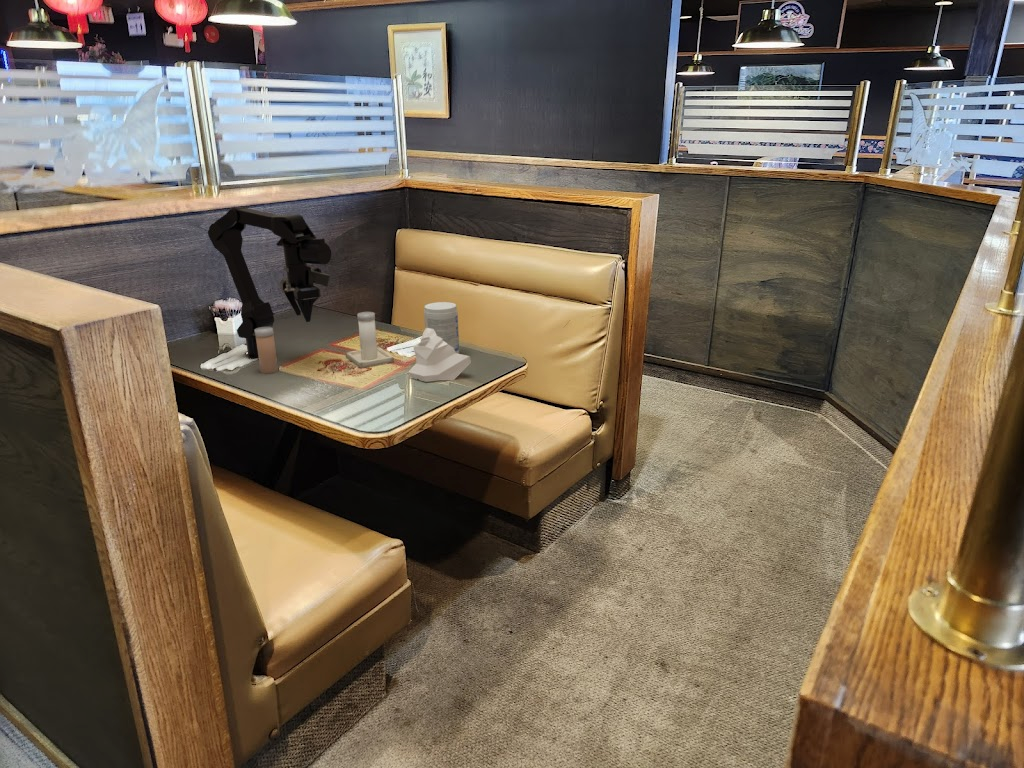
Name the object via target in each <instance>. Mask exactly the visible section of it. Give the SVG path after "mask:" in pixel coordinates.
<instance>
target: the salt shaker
mask: <svg viewBox="0 0 1024 768" xmlns="http://www.w3.org/2000/svg"><path fill="white" fill-rule="evenodd" d="M356 315H357V320H358V321H357V322H358V333H359V335H358V336H359V346H360V350H361V359H363V360H374V359H377V358H378V355H377V347H378V344H377V334H376V333H377V332H376V320H375V319H376V316H375V315H376V313H375V312H373V311H362V312H358V313H357V314H356Z"/></svg>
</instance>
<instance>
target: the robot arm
mask: <svg viewBox="0 0 1024 768" xmlns="http://www.w3.org/2000/svg"><path fill="white" fill-rule="evenodd" d="M305 220H306V219H304V216H302V215H300V214H297V213H296V214H274V213H269V212H266V211H260V210H256V209H252V208H248V207H245V206H237V207H232V208H230V209H229V210H227V212H226V214H224V215H222V216H221V217H219V218H218V219H217V220H215V222H213V223H212V224H210V225H209V226H208V227H209V228H208V230H207V235H208V237H209V239H210V242H211V244H212V246H213V247H214V248H215V250H217V251H218V252H219V253H220V254H221V255H223V257H224V261H225V262H226V265H227V267H228V270H229V273H230V275H231V278H232V280H233V283H234V285H235V288H236V290H237V293H238V296H239V298H240V300H241V303H242V304H241V310H240V311H241V312H240V317H241V321H242V322H241V323H240V325H239V326H238V328H237V329H236V333H237V335H238V338H243V339H245V342H246V344H245V345H246V350H247V351H248V354H247V355H246V357H247V356H248V357H249V358H251V359H256V358H259V356H258V349H257V342H256V336H255V329H256V328H259V327H272V328H273V326H274V322H275V317H274V316H275V313H274V312H273V310H272V306H271V304H270V302H269V301H267V302H265V301H263V300H262V299H261V298H260V295H259V294H258V291H257V288H256V286H255V284H254V280H253V277H252V275H251V273H250V270H249V267H248V264H247V263H246V259H245V258H244V255H243V252H242V247H243V241H244V240H243V237H242V232H243V231H245V229H246V227H247V226H252V227H255V228H260V229H265V230H268V231H271V232H272V234H274V235H275V236H277V237H279V238H280V239H279V240H278V241H276V246H277V247H282V248H283V257H284V264H285V266H283V270H284V271H285V272H286V278H285V277H284V278H281V280H280V281H279V288H280V290H282V291H281V292H282V293H283V295H284V296H285V298H286V300H287V302H288V303H289V305H290V306H291V308H292V310H293V312H294V314H295V315H296V316H301V315H302V317H303V319H304V320H305V322H306V323H309V322H311V320H312V312H313V307H314V303H315V302H316V301H317V300H319V299H320V297H322V295H321V289H320V288H318V287H317V286H315V285H314V284H317V285H320V286H323V287H325V288H326V287H329V284H330V279H331V275H330V274H327V273H324V272H323V271H322V269H321V268H319V267H316V266H313V268H312V267H310V265H308V264H311V265H327V264H329V262H330V261H331V258H332V249H331V248H330V246H329V244H328V243H326V241H325V238H322V237H320V238H317V237H316V235H315V234H314V232H313V231H312V229H311V228H310V227H309V225H308V224H307V222H306V221H305ZM247 351H246V352H247ZM248 357H247V358H248ZM249 358H248V359H249Z"/></svg>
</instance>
